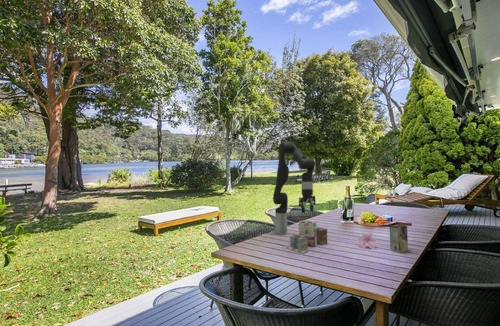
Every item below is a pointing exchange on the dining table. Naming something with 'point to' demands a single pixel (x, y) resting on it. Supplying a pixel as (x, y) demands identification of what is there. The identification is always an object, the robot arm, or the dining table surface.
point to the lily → (367, 240)
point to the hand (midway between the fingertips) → (307, 211)
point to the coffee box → (398, 238)
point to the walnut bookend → (321, 236)
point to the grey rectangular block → (298, 243)
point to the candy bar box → (308, 232)
